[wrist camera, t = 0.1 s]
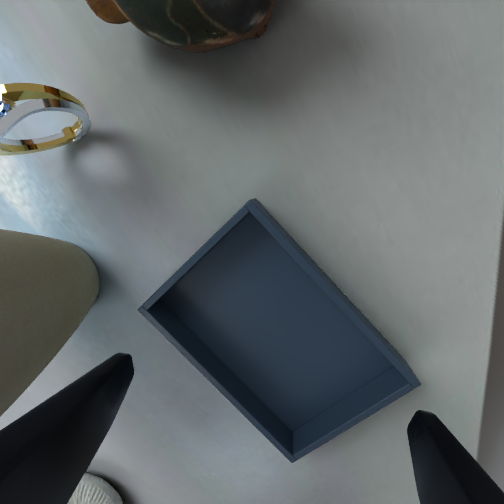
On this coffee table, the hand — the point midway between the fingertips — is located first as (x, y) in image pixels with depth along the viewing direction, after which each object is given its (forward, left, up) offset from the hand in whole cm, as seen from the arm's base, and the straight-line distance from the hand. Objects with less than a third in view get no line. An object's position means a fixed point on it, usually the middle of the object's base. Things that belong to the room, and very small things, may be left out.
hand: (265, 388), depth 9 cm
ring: (-5, +20, -16) cm, 26 cm away
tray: (-4, -4, -15) cm, 17 cm away
